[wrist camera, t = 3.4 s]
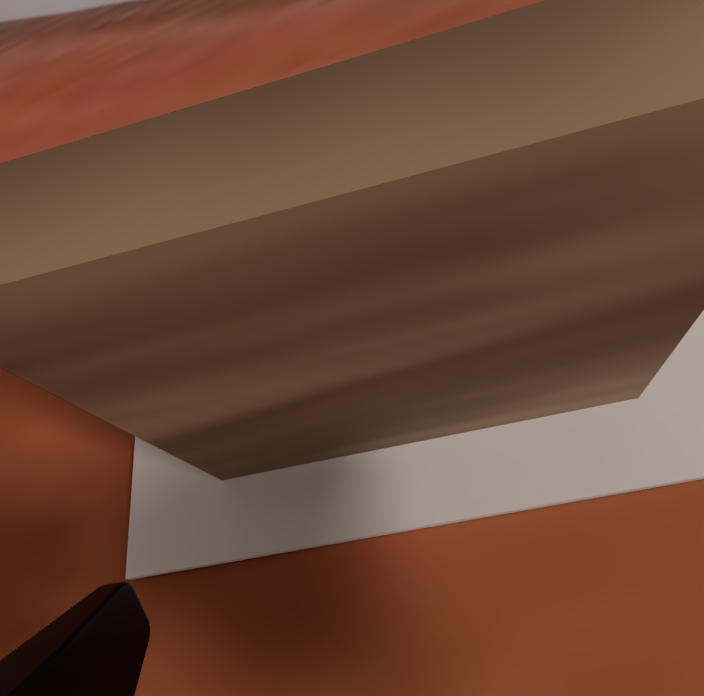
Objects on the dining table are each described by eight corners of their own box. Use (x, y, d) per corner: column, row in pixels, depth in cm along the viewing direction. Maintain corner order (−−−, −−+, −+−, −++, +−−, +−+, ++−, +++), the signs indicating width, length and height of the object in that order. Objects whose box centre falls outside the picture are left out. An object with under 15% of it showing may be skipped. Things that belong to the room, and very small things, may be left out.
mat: (798, 462, 13) (805, 459, 13) (131, 579, 15) (125, 579, 15) (578, 64, 20) (579, 57, 20) (156, 183, 23) (152, 178, 22)
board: (638, 398, 14) (898, 45, 5) (222, 480, 16) (-108, 313, 7) (606, 322, 15) (775, -69, 6) (220, 406, 17) (-63, 181, 8)
